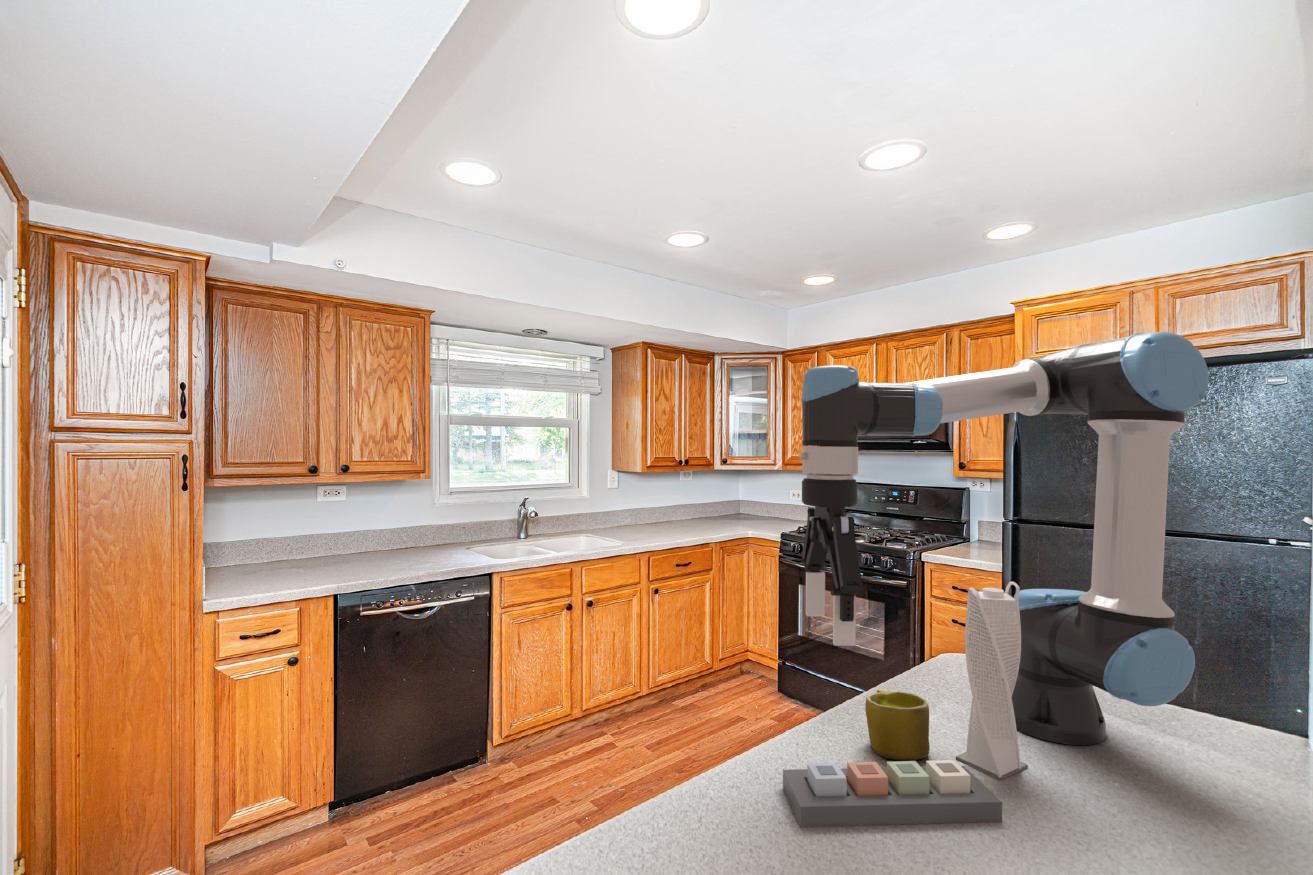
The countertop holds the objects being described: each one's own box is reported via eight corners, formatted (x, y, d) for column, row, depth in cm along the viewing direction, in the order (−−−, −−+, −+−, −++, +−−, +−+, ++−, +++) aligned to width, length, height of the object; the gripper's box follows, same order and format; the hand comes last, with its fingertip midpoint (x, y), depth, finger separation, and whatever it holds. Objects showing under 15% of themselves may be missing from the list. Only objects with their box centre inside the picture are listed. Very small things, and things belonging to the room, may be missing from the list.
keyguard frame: (964, 783, 89) (964, 765, 89) (1002, 821, 80) (1002, 801, 80) (782, 787, 88) (782, 769, 88) (800, 826, 79) (800, 806, 79)
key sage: (915, 782, 87) (915, 760, 87) (929, 799, 83) (929, 775, 83) (886, 783, 86) (886, 760, 86) (899, 800, 82) (899, 776, 82)
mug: (950, 760, 92) (925, 689, 95) (880, 775, 94) (857, 705, 97) (936, 739, 104) (914, 676, 106) (874, 752, 106) (854, 691, 108)
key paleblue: (836, 784, 86) (836, 761, 86) (846, 801, 82) (846, 777, 82) (807, 785, 86) (807, 762, 86) (816, 802, 82) (816, 778, 82)
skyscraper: (1037, 771, 93) (1037, 580, 93) (1006, 786, 89) (1005, 587, 89) (982, 747, 100) (982, 570, 100) (951, 760, 96) (951, 576, 96)
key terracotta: (876, 783, 86) (876, 760, 86) (888, 800, 82) (888, 776, 82) (847, 784, 86) (847, 761, 86) (857, 801, 82) (857, 777, 82)
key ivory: (954, 781, 87) (954, 759, 87) (970, 798, 83) (970, 774, 83) (926, 782, 87) (926, 759, 87) (940, 799, 83) (940, 775, 83)
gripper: (782, 472, 101) (782, 605, 101) (829, 482, 76) (828, 659, 76) (829, 473, 101) (828, 606, 101) (891, 483, 76) (890, 659, 76)
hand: (828, 629), depth 88 cm, fingers open, 13 cm apart
